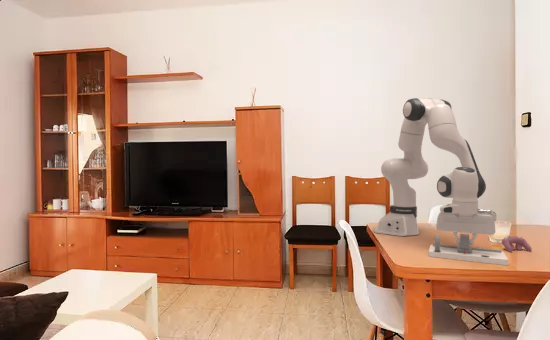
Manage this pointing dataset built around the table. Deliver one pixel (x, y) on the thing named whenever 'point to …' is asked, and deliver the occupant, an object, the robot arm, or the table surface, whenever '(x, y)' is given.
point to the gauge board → (475, 256)
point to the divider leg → (464, 244)
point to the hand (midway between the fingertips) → (464, 243)
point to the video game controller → (517, 240)
